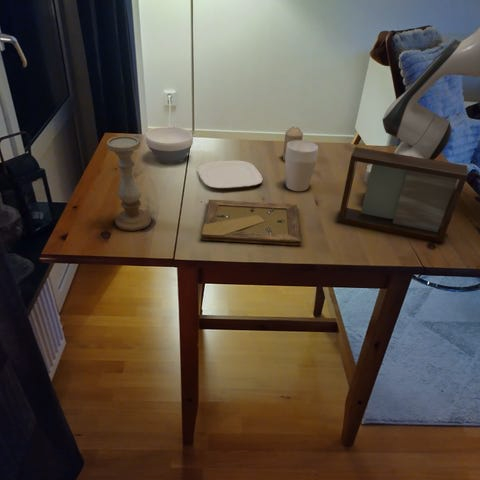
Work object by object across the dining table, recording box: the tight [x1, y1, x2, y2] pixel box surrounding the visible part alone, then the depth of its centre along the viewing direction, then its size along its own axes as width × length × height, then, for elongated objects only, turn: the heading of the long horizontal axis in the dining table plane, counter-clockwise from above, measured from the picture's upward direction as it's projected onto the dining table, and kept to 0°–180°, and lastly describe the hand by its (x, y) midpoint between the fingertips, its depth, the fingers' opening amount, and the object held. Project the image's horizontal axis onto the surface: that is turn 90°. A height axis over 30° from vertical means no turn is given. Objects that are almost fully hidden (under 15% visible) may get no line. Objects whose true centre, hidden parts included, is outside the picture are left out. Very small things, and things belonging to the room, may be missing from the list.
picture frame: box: [201, 199, 302, 246], centre depth 117 cm, size 19×2×24 cm
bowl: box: [145, 126, 194, 165], centre depth 145 cm, size 14×14×8 cm
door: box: [360, 164, 408, 219], centre depth 117 cm, size 4×11×14 cm, turn 70°
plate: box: [196, 160, 264, 190], centre depth 137 cm, size 18×18×2 cm
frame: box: [337, 146, 469, 244], centre depth 114 cm, size 6×26×18 cm, turn 70°
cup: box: [284, 139, 319, 192], centre depth 132 cm, size 9×9×12 cm
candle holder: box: [105, 135, 152, 232], centre depth 109 cm, size 9×9×20 cm
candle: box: [282, 126, 304, 162], centre depth 147 cm, size 6×6×10 cm
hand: (401, 191), depth 117 cm, fingers closed on door, 2 cm apart
